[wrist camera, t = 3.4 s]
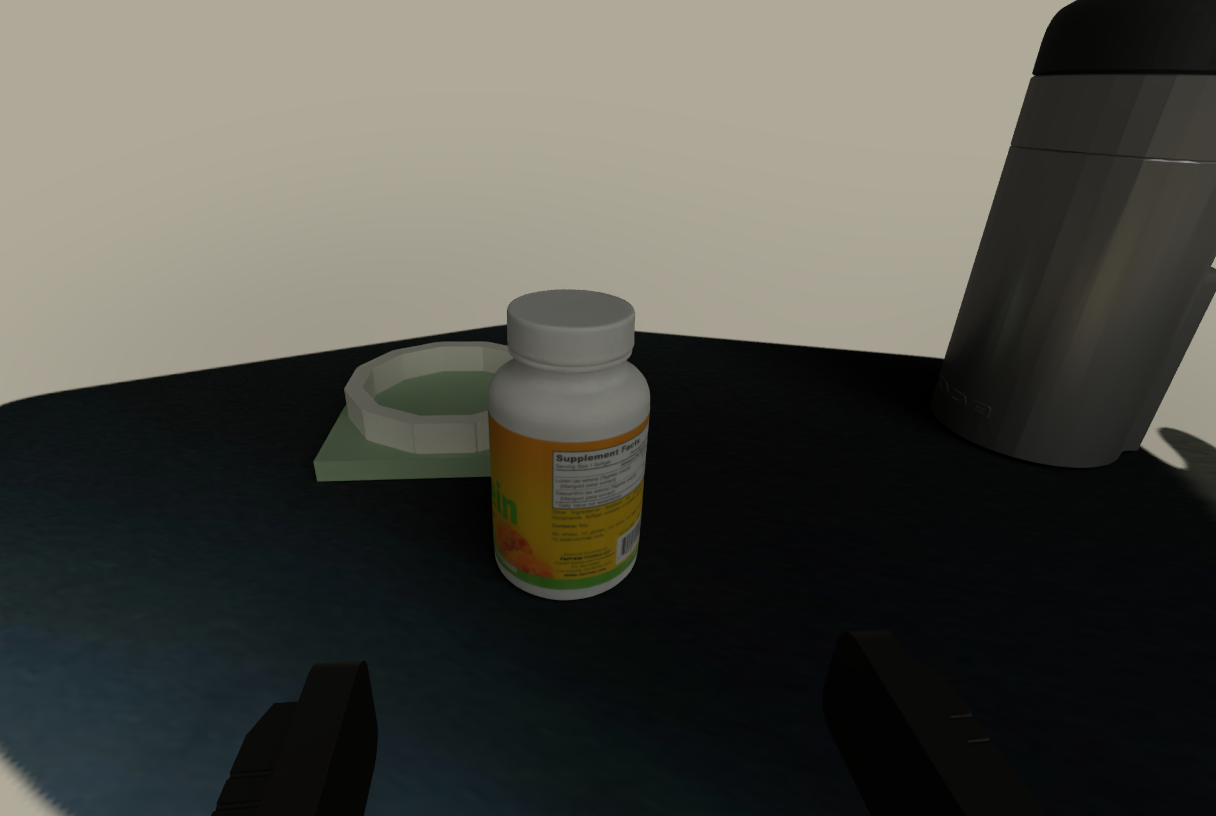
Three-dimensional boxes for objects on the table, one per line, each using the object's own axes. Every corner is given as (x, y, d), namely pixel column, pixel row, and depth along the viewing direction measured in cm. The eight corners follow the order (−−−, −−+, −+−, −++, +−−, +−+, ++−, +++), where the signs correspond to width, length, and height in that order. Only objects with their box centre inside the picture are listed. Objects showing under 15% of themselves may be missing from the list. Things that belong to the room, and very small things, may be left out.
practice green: (557, 377, 38) (557, 338, 37) (569, 474, 29) (570, 426, 27) (371, 378, 37) (365, 339, 36) (317, 481, 27) (307, 431, 26)
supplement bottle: (483, 523, 25) (470, 286, 21) (609, 502, 27) (621, 279, 22) (509, 620, 21) (500, 342, 16) (659, 587, 22) (687, 328, 18)
